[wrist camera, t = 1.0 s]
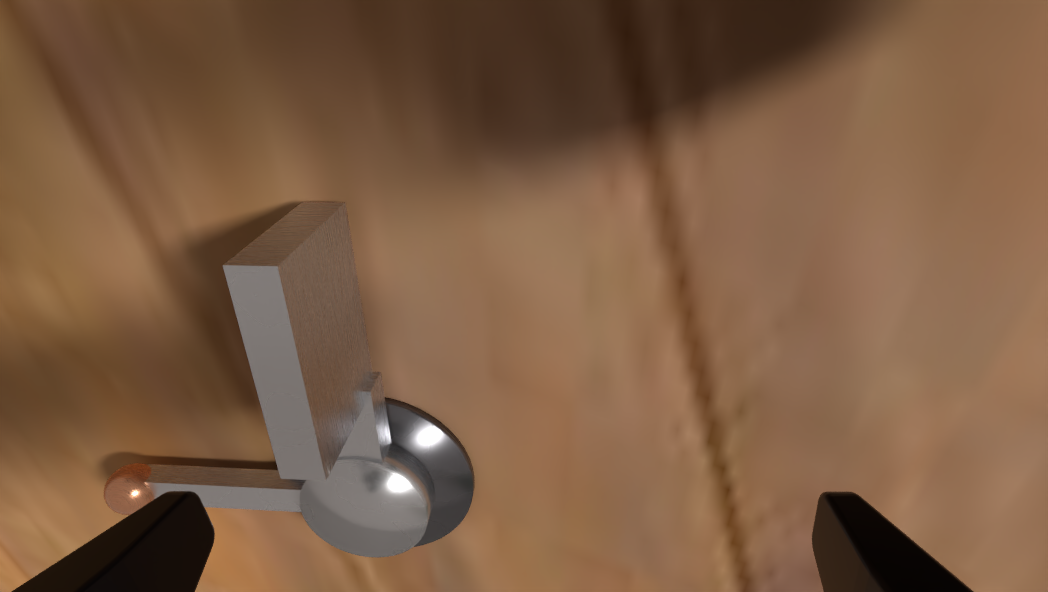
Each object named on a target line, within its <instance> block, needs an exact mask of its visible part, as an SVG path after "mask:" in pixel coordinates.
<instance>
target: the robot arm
mask: <svg viewBox="0 0 1048 592" xmlns="http://www.w3.org/2000/svg"><path fill="white" fill-rule="evenodd" d="M214 535H215V533H214V528H213V525H212V523H211V521H210V519H209V516H208V514H207V512H206V510H205V508H204V506H203V503H202V501H201V499H200V497H199V496H198V495H197V494H196V493H195V492H192V491H170V492H166V493H164V494H162V495H160V496H159V497H157V498H156V499H154V500H153V501H151V502H149V503H148V504H146V505H145V506H143V507H142V508H140V509H139V510H137V511H136V512H134V513H132V514H131V515H129V516H128V517H126V518H125V519H123V520H122V521H120V522H119V523H117V524H115V525H114V526H112V527H111V528H109V529H108V530H106V531H105V532H103V533H101V534H100V535H98V536H97V537H95V538H94V539H92V540H91V541H89V542H88V543H86V544H84V545H83V546H81V547H80V548H78V549H77V550H75V551H74V552H72V553H71V554H69V555H67V556H66V557H64V558H63V559H61V560H60V561H58V562H57V563H55V564H54V565H52V566H50V567H49V568H47V569H46V570H44V571H43V572H41V573H40V574H38V575H36V576H35V577H33V578H32V579H30V580H29V581H27V582H26V583H24V584H23V585H21V586H19V587H18V588H16V589H15V590H13V591H12V592H195V590H196V587H197V585H198V582H199V580H200V577H201V575H202V572H203V569H204V567H205V564H206V562H207V559H208V557H209V554H210V552H211V549H212V546H213V543H214ZM812 545H813V551H814V556H815V559H816V563H817V567H818V571H819V575H820V579H821V582H822V586H823V590H824V592H973V591H972V590H971V589H970V588H969V587H967V586H966V585H965V584H964V583H963V582H961V581H960V580H959V579H958V578H957V577H956V576H954V575H953V574H952V573H951V572H950V571H948V570H947V569H946V568H945V567H944V566H942V565H941V564H940V563H939V562H938V561H936V560H935V559H934V558H933V557H932V556H931V555H929V554H928V553H927V552H926V551H925V550H923V549H922V548H921V547H920V546H919V545H917V544H916V543H915V542H914V541H913V540H911V539H910V538H909V537H908V536H907V535H906V534H904V533H903V532H902V531H901V530H900V529H898V528H897V527H896V526H895V525H894V524H892V523H891V522H890V521H889V520H888V519H886V518H885V517H884V516H883V515H882V514H880V513H879V512H878V511H877V510H876V509H875V508H873V507H872V506H871V505H870V504H869V503H867V502H866V501H865V500H864V499H863V498H861V497H860V496H859V495H857V494H855V493H853V492H824V493H822V494H821V495H820V497H819V500H818V505H817V511H816V516H815V522H814V527H813V533H812Z"/></svg>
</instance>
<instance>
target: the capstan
mask: <svg viewBox="0 0 1048 592" xmlns="http://www.w3.org/2000/svg"><path fill="white" fill-rule="evenodd" d="M223 269H224V273H225V276H226V280H227V284H228V287H229V291H230V295H231V298H232V302H233V306H234V309H235V313H236V317H237V320H238V324H239V328H240V331H241V335H242V339H243V342H244V346H245V350H246V353H247V357H248V361H249V364H250V368H251V372H252V375H253V379H254V383H255V386H256V390H257V394H258V397H259V401H260V405H261V408H262V412H263V416H264V419H265V423H266V427H267V430H268V434H269V438H270V441H271V445H272V449H273V452H274V456H275V460H276V464H277V467H278V470H264V469H243V468H222V467H201V466H179V465H158V464H148V465H146V464H141V463H134V464H129V465H126V466H123V467H121V468H120V469H118V470H117V471H115V472H114V473H113V474H112V475H111V476H110V477H109V479H108V480H107V482H106V485H105V488H104V499H105V502H106V504H107V505H108V506H109V508H111V509H112V510H113V511H115V512H117V513H119V514H124V515H131V514H132V513H134V512H136V511H137V510H139V509H140V508H142V507H143V506H145V505H146V504H148V503H149V502H151V501H153V500H154V499H156V498H157V497H159V496H160V495H162V494H164V493H166V492H170V491H192V492H195V493H196V494H197V495H198V496H199V497H200V499H201V501H202V503H203V506H204V507H216V508H234V509H253V510H272V511H291V512H302V515H303V517H304V519H305V521H306V522H307V524H308V525H309V527H310V528H311V529H312V530H313V531H314V532H315V533H316V534H317V535H318V536H319V537H320V538H322V539H323V540H324V541H326V542H327V543H329V544H331V545H332V546H334V547H336V548H338V549H340V550H343V551H345V552H348V553H352V554H355V555H360V556H366V557H388V556H393V555H397V554H400V553H403V552H405V551H407V550H409V549H411V548H412V547H414V546H415V545H416V544H417V543H418V542H419V541H420V540H421V538H422V537H423V535H424V533H425V530H426V527H427V524H428V520H429V517H430V513H431V510H432V506H433V503H434V498H435V487H434V482H433V480H432V477H431V475H430V473H429V471H428V470H427V469H426V467H425V466H424V465H423V463H422V462H421V461H420V460H419V459H418V458H416V457H415V456H414V455H413V454H411V453H410V452H408V451H407V450H405V449H403V448H402V447H400V446H398V445H395V444H393V443H391V436H390V430H389V423H388V417H387V410H386V404H385V397H384V391H383V384H382V378H381V372H373V371H372V365H371V359H370V353H369V347H368V340H367V334H366V328H365V322H364V316H363V309H362V303H361V297H360V291H359V285H358V278H357V272H356V266H355V260H354V254H353V247H352V241H351V235H350V229H349V223H348V216H347V210H346V204H345V202H302V203H300V204H299V205H298V206H297V207H295V208H294V209H293V210H292V211H290V212H289V213H288V214H287V215H285V216H284V217H283V218H281V219H280V220H279V221H278V222H276V223H275V224H274V225H273V226H271V227H270V228H269V229H268V230H266V231H265V232H264V233H263V234H261V235H260V236H259V237H258V238H256V239H255V240H254V241H252V242H251V243H250V244H249V245H247V246H246V247H245V248H244V249H242V250H241V251H240V252H239V253H237V254H236V255H235V256H234V257H232V258H231V259H230V260H229V261H227V262H226V263H225V264H224V265H223Z"/></svg>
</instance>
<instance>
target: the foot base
mask: <svg viewBox="0 0 1048 592" xmlns="http://www.w3.org/2000/svg"><path fill="white" fill-rule="evenodd" d="M385 404H386V410H387V417H388V423H389V430H390V436H391V443H393V444H395V445H398V446H400V447H402V448H403V449H405V450H407V451H408V452H410V453H411V454H413V455H414V456H415V457H416V458H418V459H419V460H420V461H421V462H422V463H423V465H424V466H425V467H426V469H427V470H428V471H429V473H430V475H431V477H432V480H433V482H434V487H435V498H434V503H433V506H432V510H431V513H430V517H429V520H428V524H427V527H426V530H425V533H424V535H423V537H422V538H421V540H420V541H419V542H418V543H417V544H416V545H415V546H420V545H424V544H427V543H431V542H433V541H436V540H438V539H440V538H442V537H444V536H445V535H447V534H448V533H450V532H451V531H452V530H454V529H455V528H456V527H457V526H458V525H459V524H460V523H461V521H462V520H463V519H464V517H465V516H466V514H467V512H468V510H469V507H470V505H471V501H472V496H473V491H474V472H473V467H472V464H471V461H470V458H469V456H468V454H467V452H466V450H465V448H464V447H463V446H462V444H461V443H460V441H459V440H458V439H457V438H456V436H455V435H454V434H453V433H452V432H451V431H450V430H449V429H448V428H447V427H446V426H444V425H443V424H442V423H441V422H440V421H438V420H437V419H435V418H434V417H432V416H431V415H429V414H428V413H426V412H424V411H422V410H420V409H419V408H416V407H414V406H411V405H409V404H407V403H404V402H401V401H397V400H394V399H390V398H385ZM415 546H414V547H415Z"/></svg>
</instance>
